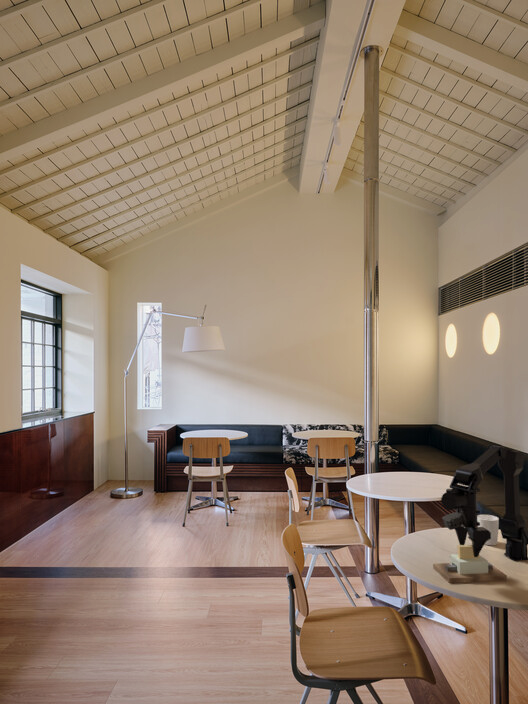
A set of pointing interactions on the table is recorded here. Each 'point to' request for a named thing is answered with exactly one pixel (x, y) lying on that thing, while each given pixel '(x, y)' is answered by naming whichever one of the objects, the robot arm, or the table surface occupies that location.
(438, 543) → the table surface
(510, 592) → the table surface
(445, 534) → the table surface
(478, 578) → the board
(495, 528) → the white cup
